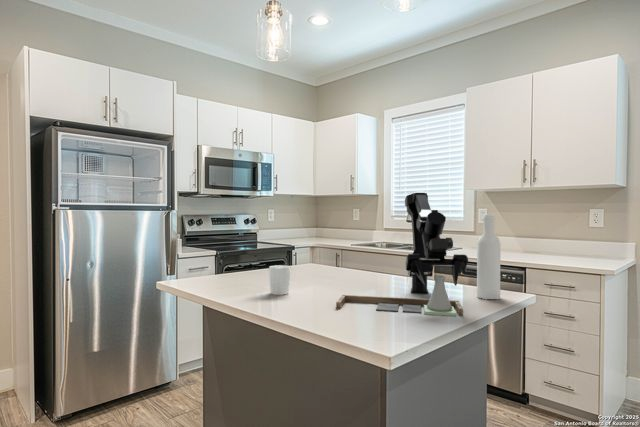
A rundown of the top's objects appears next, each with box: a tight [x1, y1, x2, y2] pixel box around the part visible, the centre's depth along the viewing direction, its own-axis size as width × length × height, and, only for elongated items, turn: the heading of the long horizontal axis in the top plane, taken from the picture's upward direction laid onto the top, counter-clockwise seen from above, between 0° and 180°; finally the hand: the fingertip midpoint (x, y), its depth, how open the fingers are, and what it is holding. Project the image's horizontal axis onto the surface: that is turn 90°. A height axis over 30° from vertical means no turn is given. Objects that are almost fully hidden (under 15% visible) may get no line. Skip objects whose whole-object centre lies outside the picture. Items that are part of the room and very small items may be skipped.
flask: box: [427, 275, 452, 311], centre depth 127 cm, size 7×7×10 cm
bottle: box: [476, 213, 501, 300], centre depth 148 cm, size 8×8×30 cm
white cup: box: [268, 264, 291, 296], centre depth 154 cm, size 8×8×10 cm
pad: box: [423, 305, 457, 317], centre depth 127 cm, size 9×9×1 cm
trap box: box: [335, 294, 464, 317], centre depth 132 cm, size 12×38×2 cm, turn 77°
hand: (440, 284), depth 126 cm, fingers open, 9 cm apart
